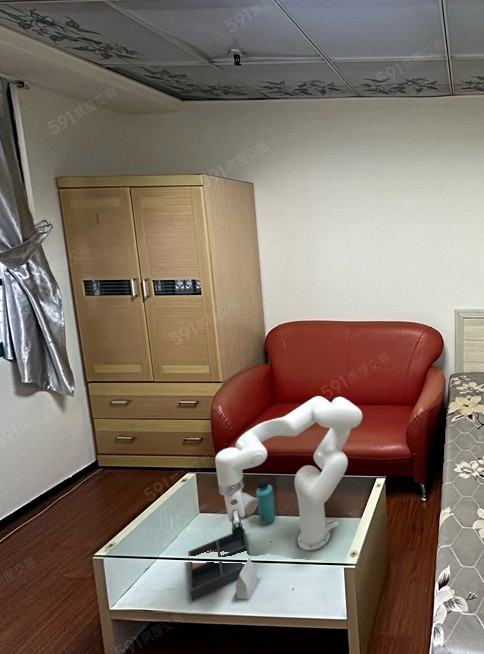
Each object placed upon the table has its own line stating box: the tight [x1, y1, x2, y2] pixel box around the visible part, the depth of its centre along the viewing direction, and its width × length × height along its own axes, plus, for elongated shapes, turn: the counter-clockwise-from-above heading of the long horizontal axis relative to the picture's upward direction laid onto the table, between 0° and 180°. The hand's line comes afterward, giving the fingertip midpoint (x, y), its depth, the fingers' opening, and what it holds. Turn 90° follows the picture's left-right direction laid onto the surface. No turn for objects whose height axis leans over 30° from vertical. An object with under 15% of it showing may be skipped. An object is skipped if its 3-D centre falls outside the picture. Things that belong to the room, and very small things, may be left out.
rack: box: [187, 528, 251, 602], centre depth 153 cm, size 19×19×4 cm
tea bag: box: [235, 558, 258, 600], centre depth 144 cm, size 4×7×10 cm, turn 179°
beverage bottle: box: [255, 477, 277, 524], centre depth 173 cm, size 6×7×20 cm
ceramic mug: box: [242, 492, 258, 517], centre depth 180 cm, size 11×8×8 cm
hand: (236, 526), depth 143 cm, fingers open, 9 cm apart
